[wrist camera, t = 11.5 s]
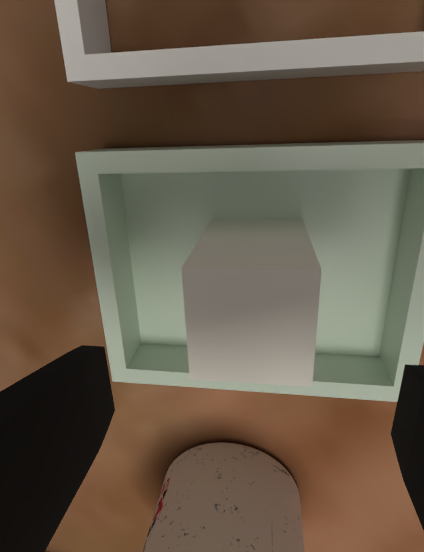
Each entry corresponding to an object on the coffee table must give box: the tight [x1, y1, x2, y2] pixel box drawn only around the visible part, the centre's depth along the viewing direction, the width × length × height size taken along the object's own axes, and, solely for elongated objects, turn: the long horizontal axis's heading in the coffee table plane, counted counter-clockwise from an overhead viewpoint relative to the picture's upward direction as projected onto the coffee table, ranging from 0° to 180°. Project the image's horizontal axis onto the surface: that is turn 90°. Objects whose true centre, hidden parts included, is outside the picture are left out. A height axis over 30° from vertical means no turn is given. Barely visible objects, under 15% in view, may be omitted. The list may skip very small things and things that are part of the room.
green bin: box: [75, 140, 424, 402], centre depth 16 cm, size 14×11×3 cm
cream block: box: [181, 220, 322, 387], centre depth 14 cm, size 4×4×6 cm
